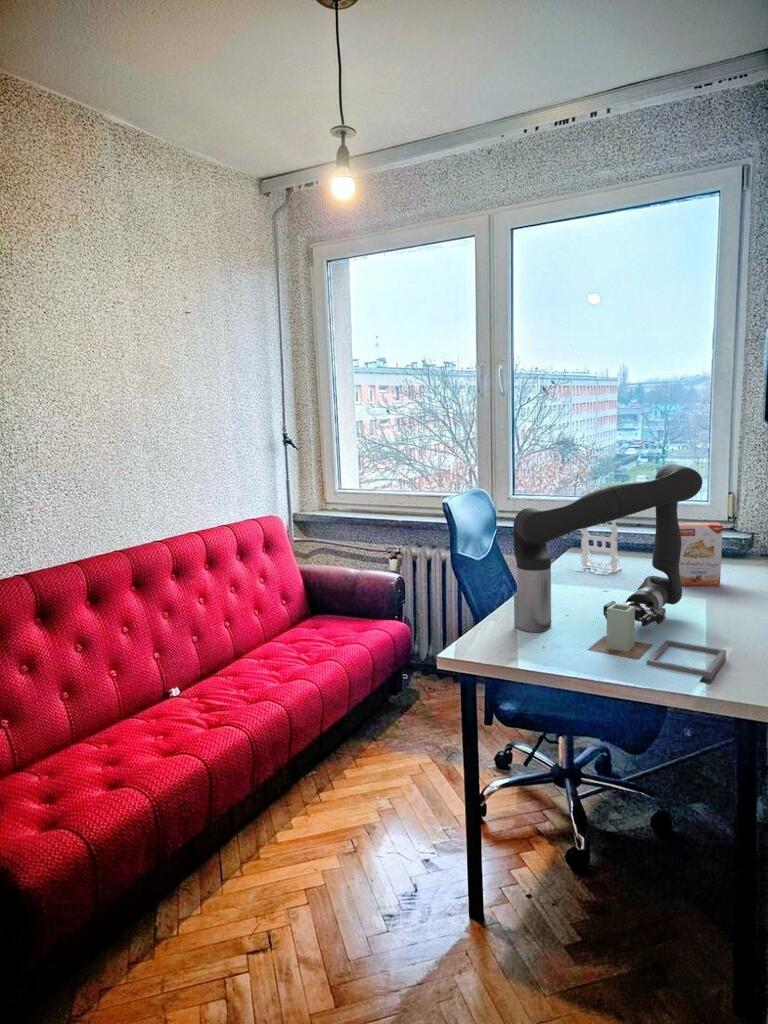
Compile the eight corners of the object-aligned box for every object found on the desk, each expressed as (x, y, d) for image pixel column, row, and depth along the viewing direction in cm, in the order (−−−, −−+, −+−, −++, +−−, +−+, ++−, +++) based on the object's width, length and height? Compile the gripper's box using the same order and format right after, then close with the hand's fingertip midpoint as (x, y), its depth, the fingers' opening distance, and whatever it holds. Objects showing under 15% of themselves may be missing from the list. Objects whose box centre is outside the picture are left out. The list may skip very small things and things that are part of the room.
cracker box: (675, 585, 210) (676, 524, 207) (671, 581, 216) (673, 521, 213) (721, 586, 207) (723, 524, 204) (716, 582, 212) (718, 521, 210)
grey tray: (646, 671, 141) (647, 660, 140) (666, 649, 153) (666, 640, 153) (710, 684, 132) (710, 672, 132) (725, 660, 145) (726, 650, 144)
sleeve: (606, 648, 152) (606, 608, 150) (613, 642, 155) (614, 603, 154) (627, 652, 148) (628, 611, 147) (634, 646, 152) (634, 606, 151)
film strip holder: (571, 571, 237) (571, 519, 234) (590, 564, 246) (590, 514, 243) (606, 576, 226) (606, 522, 224) (624, 569, 235) (625, 517, 233)
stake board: (587, 655, 151) (587, 613, 150) (604, 641, 160) (604, 601, 159) (638, 666, 144) (638, 622, 142) (653, 650, 153) (654, 608, 152)
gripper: (617, 586, 170) (596, 600, 157) (673, 593, 161) (655, 609, 149) (617, 613, 171) (596, 629, 158) (673, 621, 162) (655, 639, 150)
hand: (625, 619), depth 154 cm, fingers open, 8 cm apart
